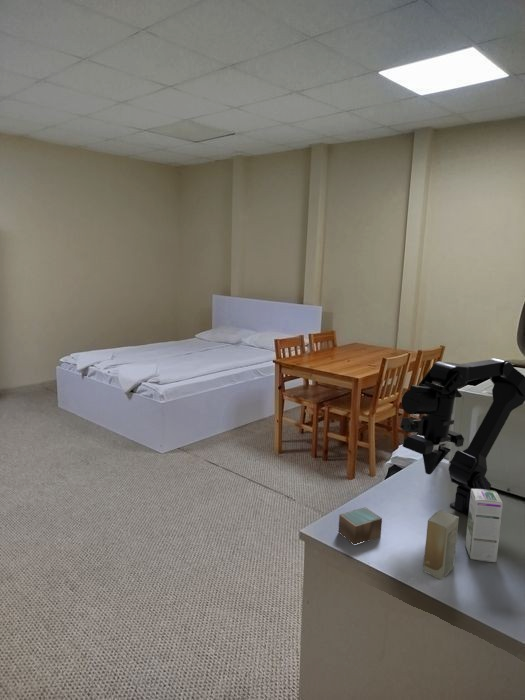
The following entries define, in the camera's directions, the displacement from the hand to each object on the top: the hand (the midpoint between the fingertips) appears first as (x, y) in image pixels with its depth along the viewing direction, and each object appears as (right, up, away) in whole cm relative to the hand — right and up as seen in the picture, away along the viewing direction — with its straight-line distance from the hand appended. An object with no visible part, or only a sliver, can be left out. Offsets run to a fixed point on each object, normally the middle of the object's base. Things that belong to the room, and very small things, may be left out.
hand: (428, 473), depth 122 cm
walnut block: (-15, -11, -3) cm, 19 cm away
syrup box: (+8, -16, -11) cm, 21 cm away
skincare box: (-4, -16, -17) cm, 24 cm away
